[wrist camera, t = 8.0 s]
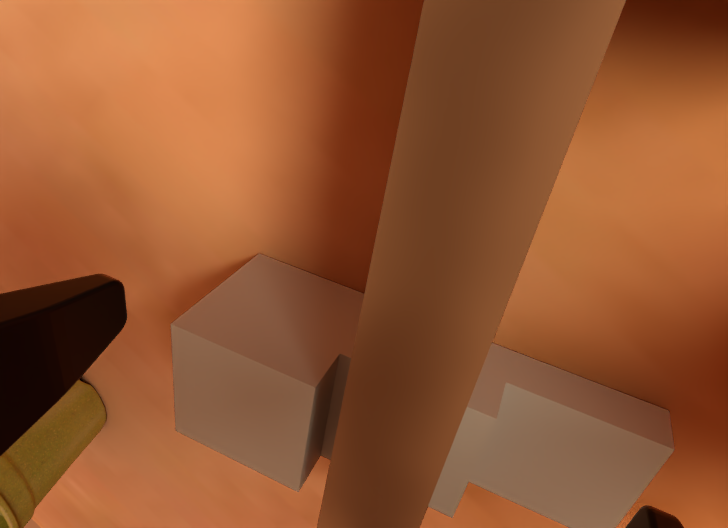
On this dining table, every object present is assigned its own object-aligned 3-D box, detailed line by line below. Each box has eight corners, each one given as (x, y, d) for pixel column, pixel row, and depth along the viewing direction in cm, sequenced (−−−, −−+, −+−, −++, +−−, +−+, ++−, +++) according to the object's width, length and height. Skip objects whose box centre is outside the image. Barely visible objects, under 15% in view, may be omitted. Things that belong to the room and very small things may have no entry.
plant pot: (95, 345, 33) (-44, 446, 26) (146, 456, 37) (37, 569, 30) (3, 334, 37) (-140, 419, 30) (58, 435, 41) (-57, 531, 34)
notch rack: (669, 410, 20) (688, 553, 15) (604, 503, 23) (602, 644, 18) (259, 253, 24) (170, 323, 19) (252, 349, 27) (175, 430, 23)
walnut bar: (857, -614, 7) (982, -908, 5) (417, 524, 22) (394, 591, 20) (599, -597, 8) (595, -843, 6) (343, 488, 23) (312, 548, 21)
